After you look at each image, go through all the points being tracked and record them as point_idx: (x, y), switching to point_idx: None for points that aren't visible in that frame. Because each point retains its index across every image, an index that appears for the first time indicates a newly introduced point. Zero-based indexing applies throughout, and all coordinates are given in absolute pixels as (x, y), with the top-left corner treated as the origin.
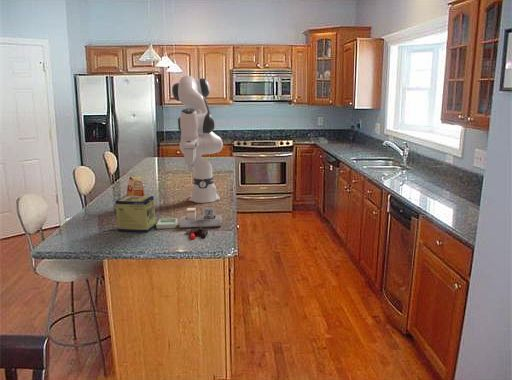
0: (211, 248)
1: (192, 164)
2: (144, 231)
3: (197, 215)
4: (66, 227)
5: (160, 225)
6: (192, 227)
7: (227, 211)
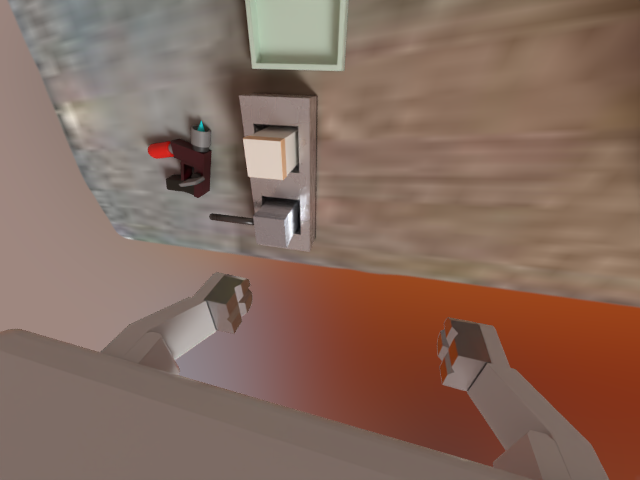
0: (113, 197)
1: (448, 368)
2: None
3: (308, 173)
4: None
5: None
6: None
7: (437, 267)
